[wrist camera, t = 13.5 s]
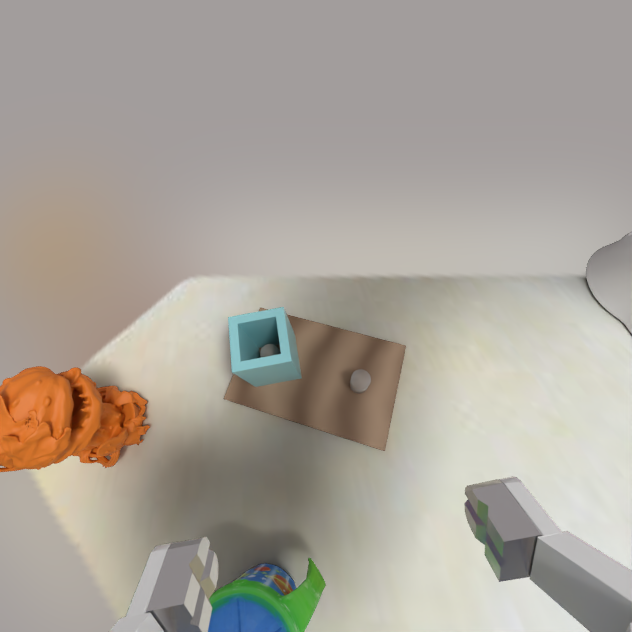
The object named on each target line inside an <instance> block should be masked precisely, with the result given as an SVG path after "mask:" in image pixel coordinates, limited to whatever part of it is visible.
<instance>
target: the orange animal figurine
mask: <svg viewBox="0 0 632 632" xmlns="http://www.w3.org/2000/svg"><path fill="white" fill-rule="evenodd" d="M135 404H137V405H138V406H139V407H140V409H139V408H138V407H137V406H136V405H135ZM145 404H147V400H144V399H143V398H141V397H140V396H139V395H138V394H137V393H135V392H133V391H130V392H127V391H122V392H120V391H118V387H117V386H108V387H107V386H106V387H100V388H97V387H96V383H95V382H93V381H92V380H91V379H90V378H89V377H88V376H85V375H83V374H81V369H80V368H72V369H70V370H69V371H66V372H62V373H60V374H55V373H54V372H52V371H51V370H50V369H48V368H46V367H41V366H40V367H39V366H38V367H32V368H27V369H25V370H23V371H21V372H20V373H19V374H17V375H16V376H14V377H12V378H7V379H5V380H4V381H3V384H2V385H1V386H0V466H4V467H6V468H0V472H7V471H17V470H22V469H38V470H39V469H41V468H42V467H44V468H45V467H47V466H49V465H51V464H52V463H55V464H56V463H59V462H61V461H63V460H64V459H66V458H67V457H68V456H71V455H73V456H79V457H80V462H82V463H95V462H97V463H101V464H102V465H103V466H105V468H106V467H111V466H114V465H115V464H116V462H117V461H118V458H119V455H120V449H121V448H122V447H123V446H126V445H127V446H129V445H133V444H138V445H139V443H141V442H142V441H143V440H141V441H139V440H140V437H141V436H140V435H144V434H146V431H147V429H148V428H150V426H148V425H145V426H142V423H143V420H145V419H146V417H144V416H142V415H143V414H144V412H145V409H146V408H145ZM109 454H111V455H109ZM107 455H109V456H110V457H111V459H110V460H108V459H107V458H106V457H105V456H107ZM93 457H96V458H97V459H98V460H91V459H90V458H93Z"/></svg>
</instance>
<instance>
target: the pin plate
mask: <svg viewBox="0 0 632 632" xmlns="http://www.w3.org/2000/svg"><path fill="white" fill-rule="evenodd" d="M264 310H268V309H264V308H260V310H259V311H264ZM287 317H288V319H289V321H290V324H291V326H292V329H293V331H294V334H295V338H296V344H297V351H298V357H299V364H300V370H301V376H302V378H301V379H295V380H290V381H285V382H280V383H274V384H269V385H264V386H258V387H255V386H253V385H252V384H250V383H248V382H247V381H245V380H243V379H242V378H240V377H239V376H237V375H235V374H233V377H232V379H231V382H230V384H229V387H228V389H227V392H226V394H225V397H224V399H226V400H229V401H232V402H235V403H238V404H241V405H244V406H247V407H250V408H253V409H257V410H260V411H263V412H266V413H269V414H272V415H275V416H278V417H281V418H284V419H287V420H290V421H293V422H296V423H300V424H303V425H306V426H309V427H312V428H315V429H318V430H321V431H324V432H327V433H330V434H333V435H336V436H340V437H343V438H346V439H349V440H352V441H355V442H358V443H361V444H364V445H367V446H370V447H373V448H376V449H380V450H383V451H385V447H386V442H387V437H388V432H389V428H390V423H391V418H392V413H393V408H394V403H395V398H396V393H397V388H398V383H399V378H400V373H401V368H402V363H403V358H404V353H405V348H406V346H405V345H401V344H397V343H393V342H390V341H386V340H382V339H378V338H374V337H371V336H367V335H363V334H359V333H355V332H351V331H348V330H344V329H340V328H336V327H332V326H329V325H325V324H321V323H317V322H313V321H310V320H306V319H302V318H298V317H294V316H290V315H287ZM259 353H260V358H262V357H267V356H272V355H278V354H281V351H280V344H278V345H274V344H266V345H265V346H263V347H262V348H259Z"/></svg>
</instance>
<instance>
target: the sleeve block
mask: <svg viewBox="0 0 632 632" xmlns="http://www.w3.org/2000/svg"><path fill="white" fill-rule="evenodd" d="M228 322H229V337H230V351H231V366H232V373H234V374H235V375H237V376H239V377H240V378H242V379H243V380H245V381H247V382H248V383H250V384H252V385H253V386H255V387H258V386H264V385H269V384H274V383H280V382H285V381H290V380H295V379H301V378H302V376H301V370H300V364H299V357H298V351H297V344H296V338H295V334H294V331H293V329H292V326H291V324H290V321H289V319H288V317H287V314H286V312H285V309H284V307H280V308H275V309H270V310H264V311H259V312H254V313H248V314H243V315H238V316H233V317H228ZM266 344H274V345H278V344H280V351H281V354H278V355H272V356H267V357H262V358H260V353H259V348H262V347H263V346H265V345H266Z"/></svg>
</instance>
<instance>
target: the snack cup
mask: <svg viewBox="0 0 632 632" xmlns="http://www.w3.org/2000/svg"><path fill="white" fill-rule="evenodd" d="M308 561H309V565H308V572H307V578H306V580H305V581H304V582H303V583H302V584H301V585H300V586H299V587H298V588H297V589H296V586H295V583H294V581H293V580H292V579H291V577H290V576H289V575H288V574H287V573H286V572H285V571H284V570H282V569H281V568H280V567H278V566H276V565H271V564H267V563H264V564H260V565H258V566H255V567H253V568H251V569H249V570H248V571H246V572H245V573H244V574H242V575H241V576H240V577H239V578H237V579H236V580H235V581H233V582H232V583H230V584H227V585H225V586H223V587H221V588H220V589H218V590H217V591H215V592H214V593H213V594H212V595H211V597H210V598H209V600H210V603H211V606H212V612H211V617H210V622H209V627H208V632H304V631H305V629H306V627H307V625H308V623H309V621H310V619H311V617H312V615H313V613H314V611H315V608H316V606H317V604H318V602H319V599H320V597H321V594H322V591H323V589H324V588H325V586H326V584H325V581H324V579H323V577H322V576H321V574H320V572H319V570H318V569H317V567H316V565H315V564H314V562H313V561H312V559H311V558H308Z"/></svg>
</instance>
